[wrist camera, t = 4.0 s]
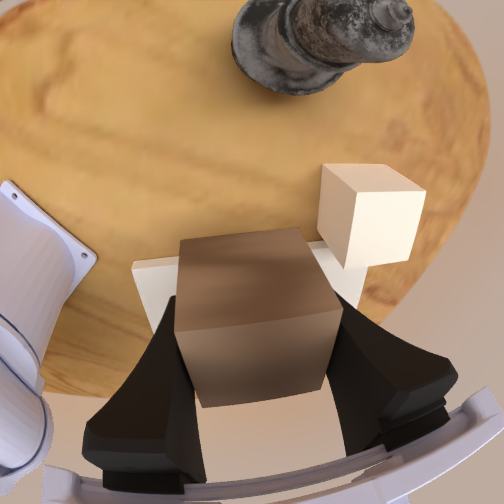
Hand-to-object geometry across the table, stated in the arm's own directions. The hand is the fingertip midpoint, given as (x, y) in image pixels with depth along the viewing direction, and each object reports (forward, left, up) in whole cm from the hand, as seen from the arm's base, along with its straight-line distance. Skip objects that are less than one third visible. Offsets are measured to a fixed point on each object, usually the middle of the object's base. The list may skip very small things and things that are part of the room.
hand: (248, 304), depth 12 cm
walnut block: (0, 0, -2) cm, 2 cm away
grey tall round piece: (-7, +9, -9) cm, 14 cm away
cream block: (+5, +7, -8) cm, 12 cm away
